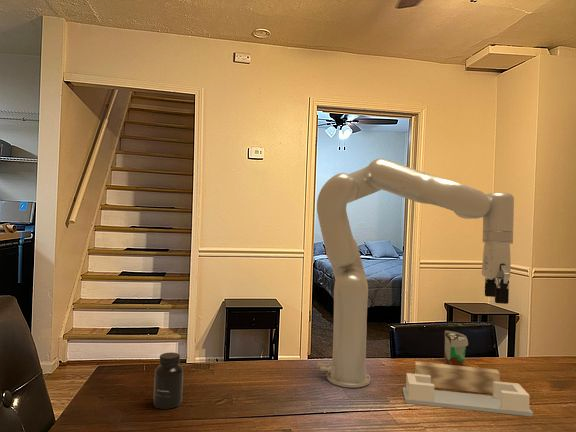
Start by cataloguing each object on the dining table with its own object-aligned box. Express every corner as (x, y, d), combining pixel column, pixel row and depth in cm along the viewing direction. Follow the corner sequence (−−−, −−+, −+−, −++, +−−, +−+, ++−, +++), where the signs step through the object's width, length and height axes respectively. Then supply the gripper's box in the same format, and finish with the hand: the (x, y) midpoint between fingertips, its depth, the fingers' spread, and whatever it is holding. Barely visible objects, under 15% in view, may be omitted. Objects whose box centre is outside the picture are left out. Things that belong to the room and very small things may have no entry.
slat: (415, 386, 119) (416, 364, 119) (414, 382, 122) (415, 361, 122) (499, 395, 115) (500, 373, 115) (496, 390, 118) (497, 369, 118)
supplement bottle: (156, 412, 99) (157, 361, 99) (151, 400, 105) (152, 352, 105) (185, 407, 102) (186, 357, 102) (178, 396, 108) (180, 349, 108)
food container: (471, 374, 129) (472, 342, 129) (450, 372, 130) (451, 340, 130) (463, 361, 141) (463, 331, 141) (443, 359, 142) (444, 330, 142)
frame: (405, 403, 107) (406, 383, 107) (402, 390, 115) (403, 372, 115) (533, 416, 102) (533, 396, 102) (521, 402, 110) (521, 383, 110)
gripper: (475, 235, 125) (473, 293, 125) (492, 238, 108) (490, 305, 108) (502, 236, 123) (500, 295, 123) (523, 239, 106) (522, 307, 106)
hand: (495, 299), depth 116 cm, fingers open, 9 cm apart
